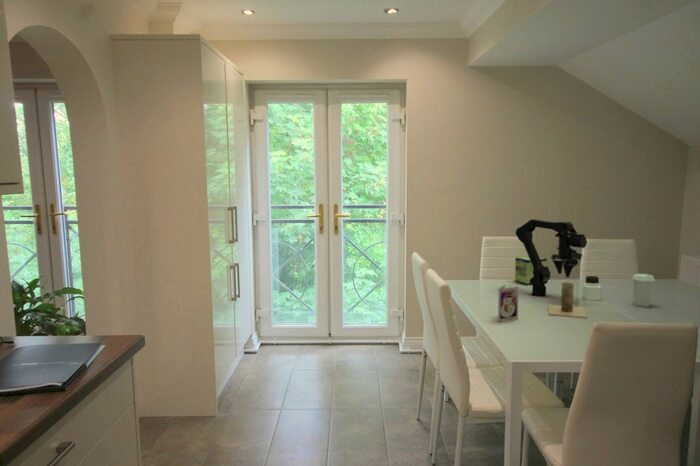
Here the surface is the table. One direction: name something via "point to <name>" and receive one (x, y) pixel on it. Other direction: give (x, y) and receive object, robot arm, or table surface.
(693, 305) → the table surface
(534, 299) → the table surface
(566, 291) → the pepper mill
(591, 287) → the medicine bottle
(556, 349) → the table surface
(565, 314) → the beige square board
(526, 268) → the protein box
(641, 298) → the coffee cup
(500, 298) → the greeting card
